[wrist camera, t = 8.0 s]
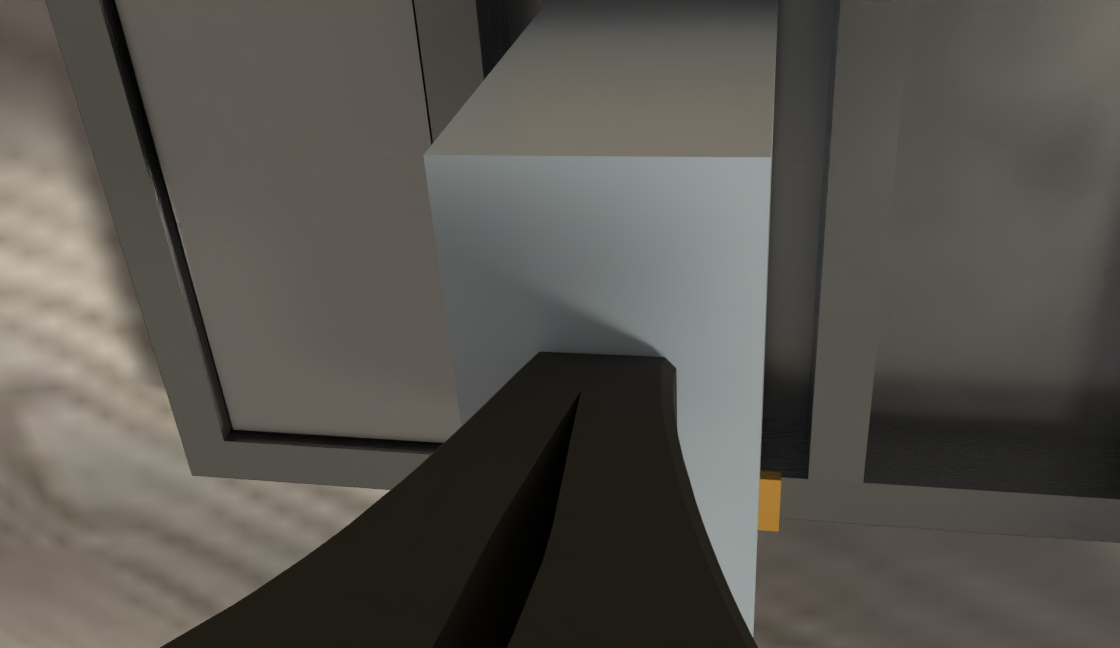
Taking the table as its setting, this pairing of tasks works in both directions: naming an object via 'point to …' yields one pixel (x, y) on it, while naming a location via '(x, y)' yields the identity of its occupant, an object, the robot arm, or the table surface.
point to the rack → (793, 264)
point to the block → (624, 223)
